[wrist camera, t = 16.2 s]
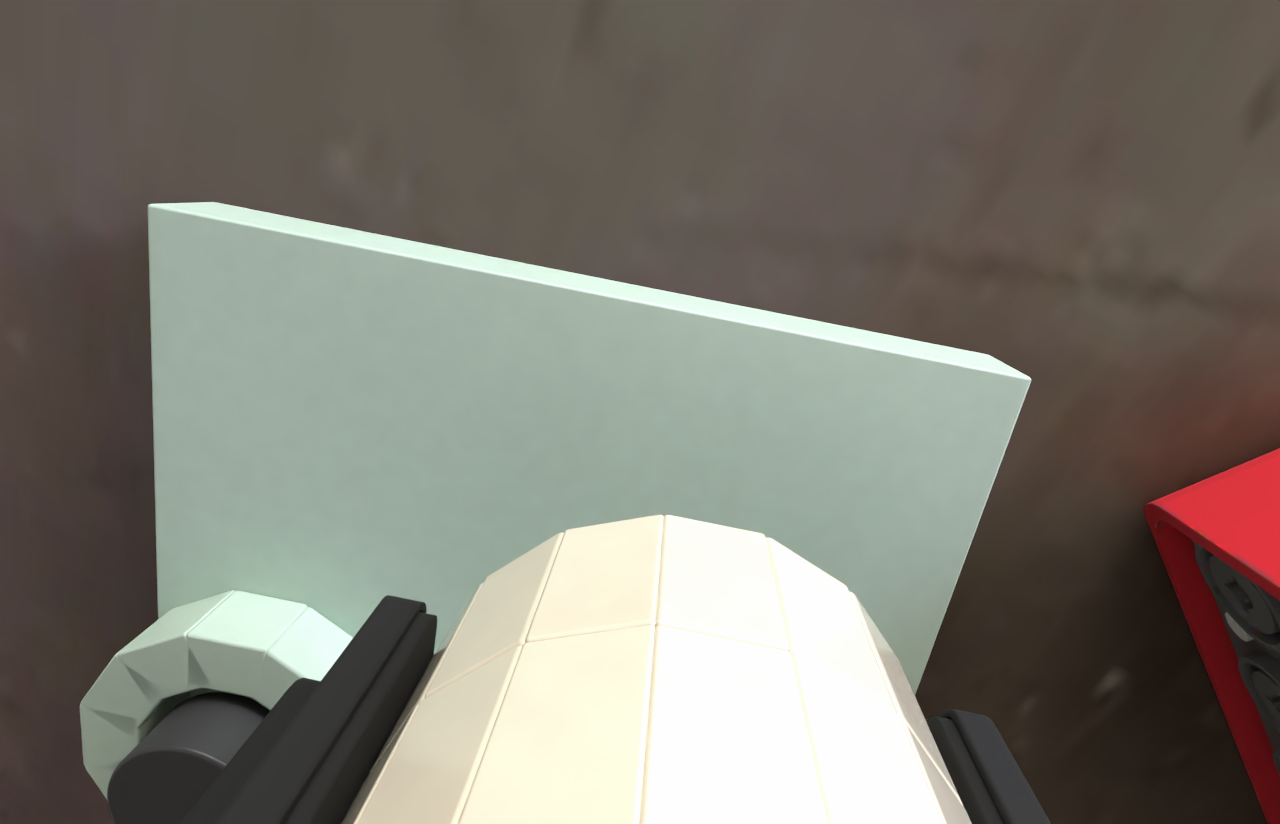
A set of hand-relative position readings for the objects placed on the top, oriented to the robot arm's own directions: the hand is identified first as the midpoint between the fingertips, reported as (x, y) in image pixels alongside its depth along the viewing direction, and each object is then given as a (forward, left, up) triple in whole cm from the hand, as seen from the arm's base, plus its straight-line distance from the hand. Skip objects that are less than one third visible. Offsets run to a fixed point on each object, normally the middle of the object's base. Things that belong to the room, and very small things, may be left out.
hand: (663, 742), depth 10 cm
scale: (-3, -1, -6) cm, 7 cm away
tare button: (-8, -5, -3) cm, 10 cm away
